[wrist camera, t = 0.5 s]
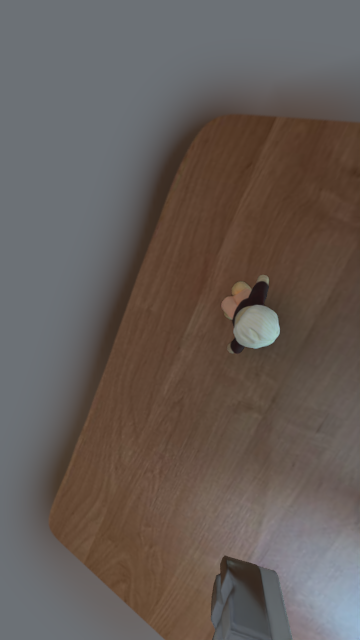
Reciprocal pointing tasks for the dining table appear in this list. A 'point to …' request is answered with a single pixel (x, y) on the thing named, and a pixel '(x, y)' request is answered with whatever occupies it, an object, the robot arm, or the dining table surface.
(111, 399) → the dining table surface
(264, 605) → the robot arm
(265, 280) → the grandmother figurine
